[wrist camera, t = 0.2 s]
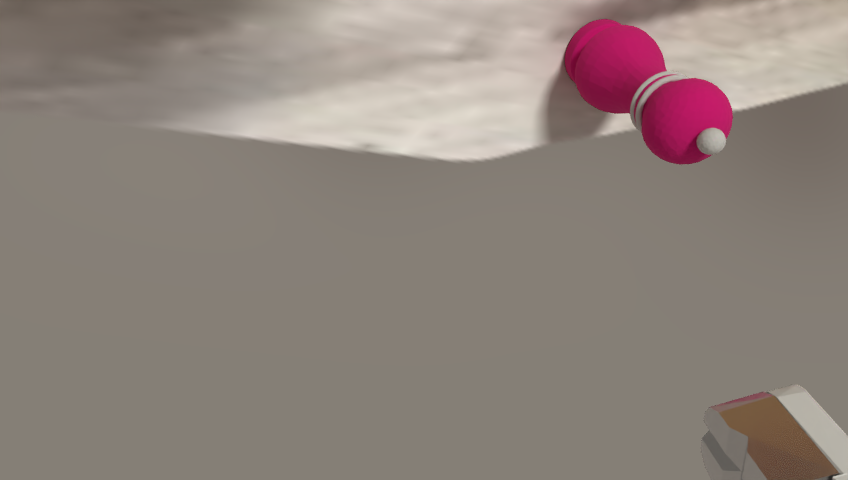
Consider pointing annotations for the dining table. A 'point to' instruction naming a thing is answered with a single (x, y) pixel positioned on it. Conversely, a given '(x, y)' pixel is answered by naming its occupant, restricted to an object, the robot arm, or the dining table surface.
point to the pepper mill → (648, 91)
